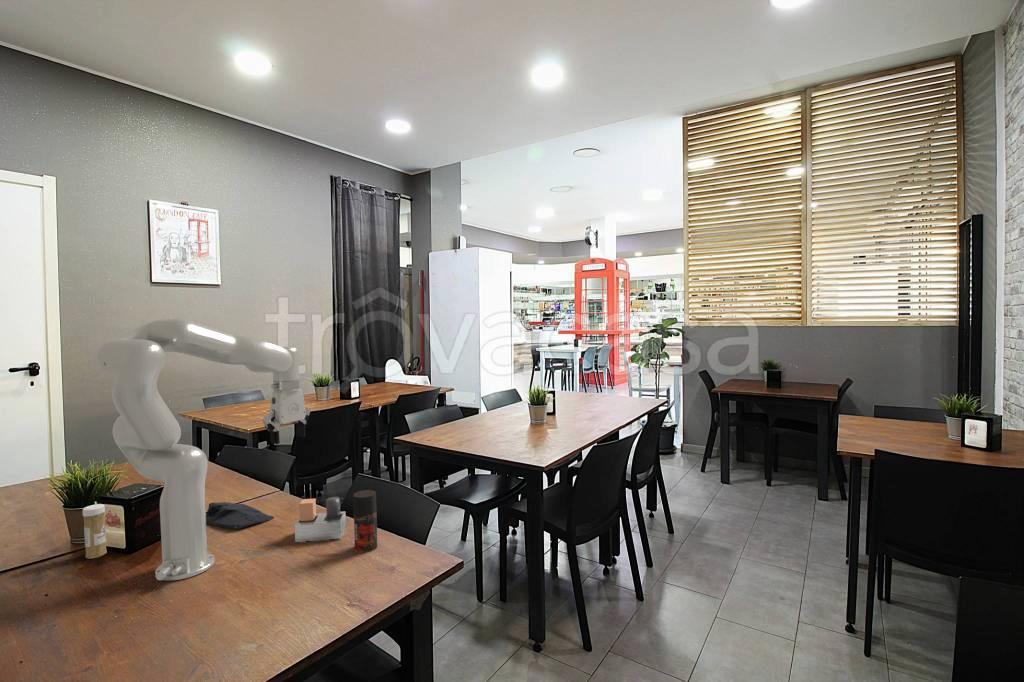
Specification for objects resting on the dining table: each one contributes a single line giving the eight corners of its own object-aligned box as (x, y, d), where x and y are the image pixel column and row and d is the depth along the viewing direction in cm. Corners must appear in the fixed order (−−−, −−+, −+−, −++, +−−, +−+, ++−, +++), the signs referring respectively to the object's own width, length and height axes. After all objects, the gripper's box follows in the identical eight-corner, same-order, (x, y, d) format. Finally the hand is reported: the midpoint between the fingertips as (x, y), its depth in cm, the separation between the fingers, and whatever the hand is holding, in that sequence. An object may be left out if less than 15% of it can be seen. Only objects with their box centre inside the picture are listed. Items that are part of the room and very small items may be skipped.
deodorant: (350, 549, 135) (348, 495, 134) (366, 541, 140) (364, 488, 139) (366, 554, 132) (364, 498, 131) (382, 545, 137) (380, 491, 137)
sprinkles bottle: (105, 556, 133) (103, 507, 133) (83, 561, 131) (81, 511, 130) (108, 549, 137) (105, 502, 137) (86, 554, 135) (84, 505, 134)
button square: (313, 520, 142) (312, 502, 142) (300, 521, 142) (299, 503, 141) (316, 515, 146) (315, 498, 146) (303, 516, 145) (302, 499, 145)
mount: (341, 538, 142) (340, 519, 141) (295, 542, 140) (294, 523, 139) (345, 527, 149) (345, 509, 149) (302, 531, 147) (301, 512, 147)
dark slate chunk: (229, 537, 145) (228, 521, 145) (193, 521, 157) (192, 507, 157) (278, 519, 158) (278, 504, 158) (241, 506, 170) (240, 492, 170)
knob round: (338, 518, 143) (338, 501, 143) (325, 519, 143) (324, 502, 142) (341, 513, 147) (340, 496, 147) (327, 514, 146) (327, 497, 146)
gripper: (270, 390, 146) (272, 447, 147) (316, 383, 161) (318, 435, 162) (253, 389, 149) (255, 445, 150) (300, 382, 165) (302, 433, 165)
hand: (288, 440), depth 156 cm, fingers open, 9 cm apart
